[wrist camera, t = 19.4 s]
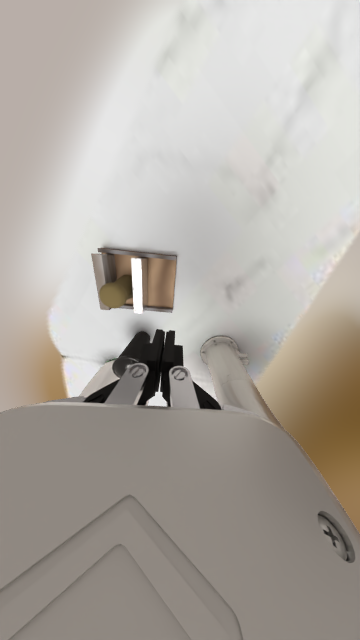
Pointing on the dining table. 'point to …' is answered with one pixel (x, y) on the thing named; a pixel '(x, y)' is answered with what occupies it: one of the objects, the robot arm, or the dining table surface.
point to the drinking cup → (130, 354)
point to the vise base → (119, 264)
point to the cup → (100, 379)
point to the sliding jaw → (139, 284)
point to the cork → (117, 292)
